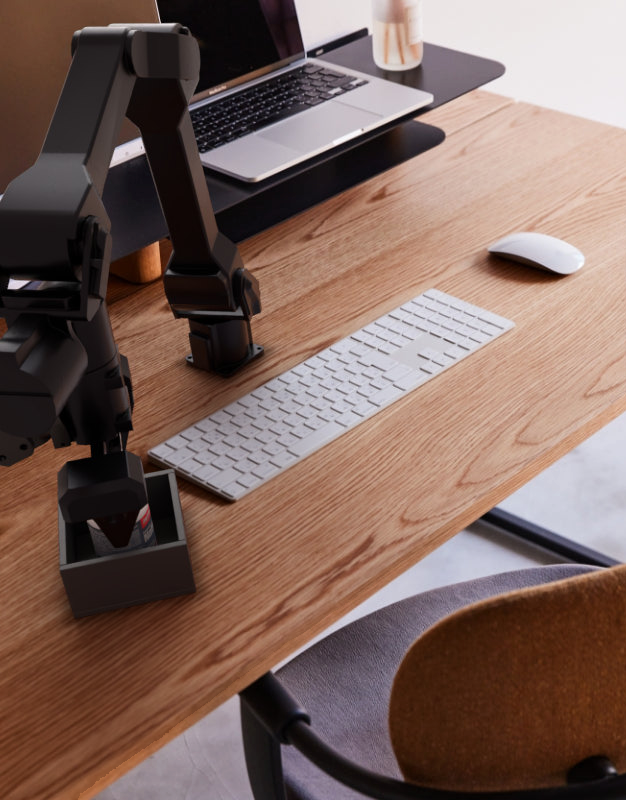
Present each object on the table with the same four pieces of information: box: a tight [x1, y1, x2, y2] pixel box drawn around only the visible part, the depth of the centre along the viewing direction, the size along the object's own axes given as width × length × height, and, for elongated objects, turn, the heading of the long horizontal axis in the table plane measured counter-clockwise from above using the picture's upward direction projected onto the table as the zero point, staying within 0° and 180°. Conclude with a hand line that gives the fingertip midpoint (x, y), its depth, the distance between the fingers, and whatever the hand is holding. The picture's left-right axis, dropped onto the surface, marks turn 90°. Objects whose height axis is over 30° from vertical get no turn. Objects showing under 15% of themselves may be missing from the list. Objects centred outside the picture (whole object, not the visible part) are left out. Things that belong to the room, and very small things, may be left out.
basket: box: [56, 468, 197, 620], centre depth 92 cm, size 10×10×6 cm
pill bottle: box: [87, 504, 158, 558], centre depth 91 cm, size 5×5×9 cm
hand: (117, 509), depth 90 cm, fingers open, 9 cm apart
